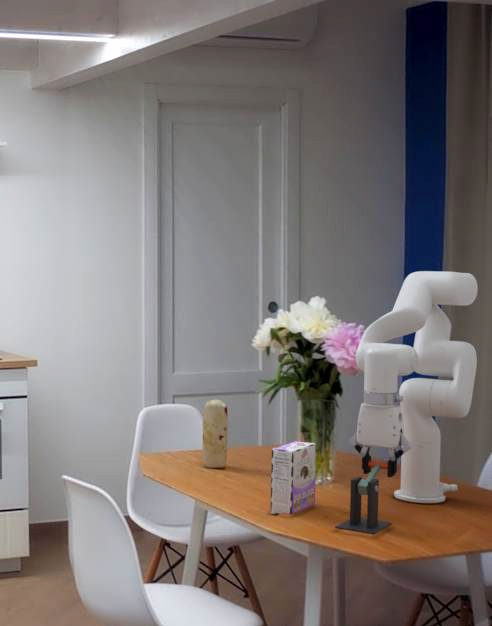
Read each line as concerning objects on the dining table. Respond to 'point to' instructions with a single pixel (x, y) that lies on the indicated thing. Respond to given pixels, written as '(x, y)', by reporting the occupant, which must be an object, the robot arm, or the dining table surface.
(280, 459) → the candy box
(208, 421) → the food model
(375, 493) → the two-post lever stand
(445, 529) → the dining table surface
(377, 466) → the switch lever
